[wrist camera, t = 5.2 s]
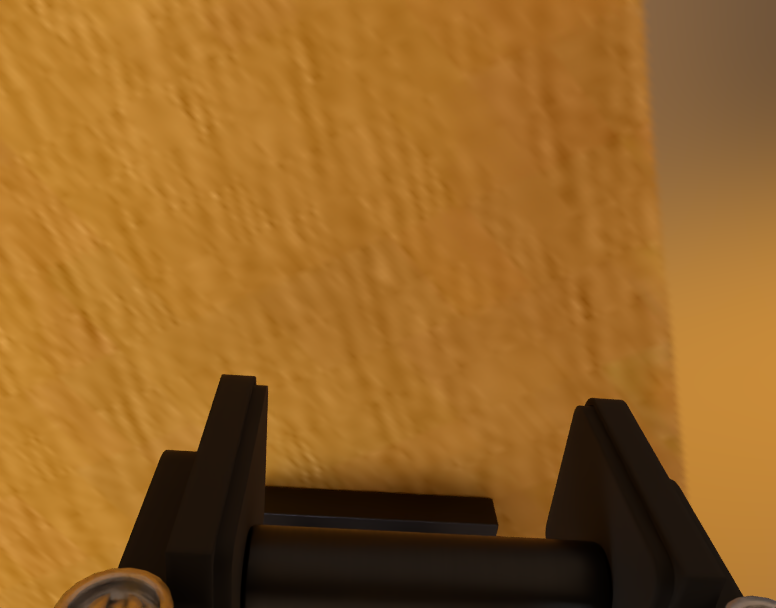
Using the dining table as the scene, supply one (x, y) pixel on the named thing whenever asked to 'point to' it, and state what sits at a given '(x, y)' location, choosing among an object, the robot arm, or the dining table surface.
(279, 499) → the switch bracket
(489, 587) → the switch lever
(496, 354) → the dining table surface
